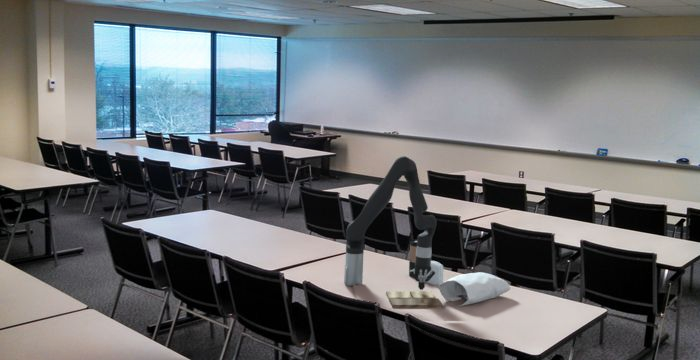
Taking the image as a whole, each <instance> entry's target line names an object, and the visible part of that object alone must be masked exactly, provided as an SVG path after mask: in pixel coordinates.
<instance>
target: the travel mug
mask: <svg viewBox="0 0 700 360" xmlns="http://www.w3.org/2000/svg"><path fill="white" fill-rule="evenodd" d="M409 243H410V244H409V259H408V261H409V262H408V263H409V265H408V269H409V270H408V277H410V278H413V279H415V278H414V277H413V276H412V274H411V273H410V270H413V269H414V266H415V261H416V249H417V238H414V239H410V241H409ZM415 275H416V277H417V278H418V274H417V272H416V271H415Z"/></svg>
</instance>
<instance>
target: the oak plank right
mask: <svg viewBox="0 0 700 360" xmlns="http://www.w3.org/2000/svg"><path fill="white" fill-rule="evenodd" d="M409 294H410V296H411V297H412V298H436V295H435V294H434V293H433V292H432V291H423V290H422V291H421V290H420V291H418V290H417V291H416V290H415V291H412V290H411V291H409Z"/></svg>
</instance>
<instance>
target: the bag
mask: <svg viewBox="0 0 700 360" xmlns="http://www.w3.org/2000/svg"><path fill="white" fill-rule="evenodd" d="M437 289H438V290H439V292H440V294H441V296H442V297H443V299H444V300H445V301H446V303H449V301H450V302H456V301H461V300H463V299H466V301H465V302H464V303H462V304H459V305H458V307H462V306H466V305H472V304H478V303H479V302H480V303H481V302H484V301H487V300H491V299H495V298H498V297H500V296H501V295H503V294H505V293H507V292H509V291H510V290H511V286H510V284H509V283H508V282H507V281H506V280H504V279H503V278H500V277H498V276H497V275H493V274H491V273H487V272H483V271H482V272H479V271H478V272H470V273H463V274H459V275H456V276H453V277H451V278H448V279H447V280H446V281H443V283H442V284H440V285H437ZM462 298H463V299H462Z"/></svg>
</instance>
